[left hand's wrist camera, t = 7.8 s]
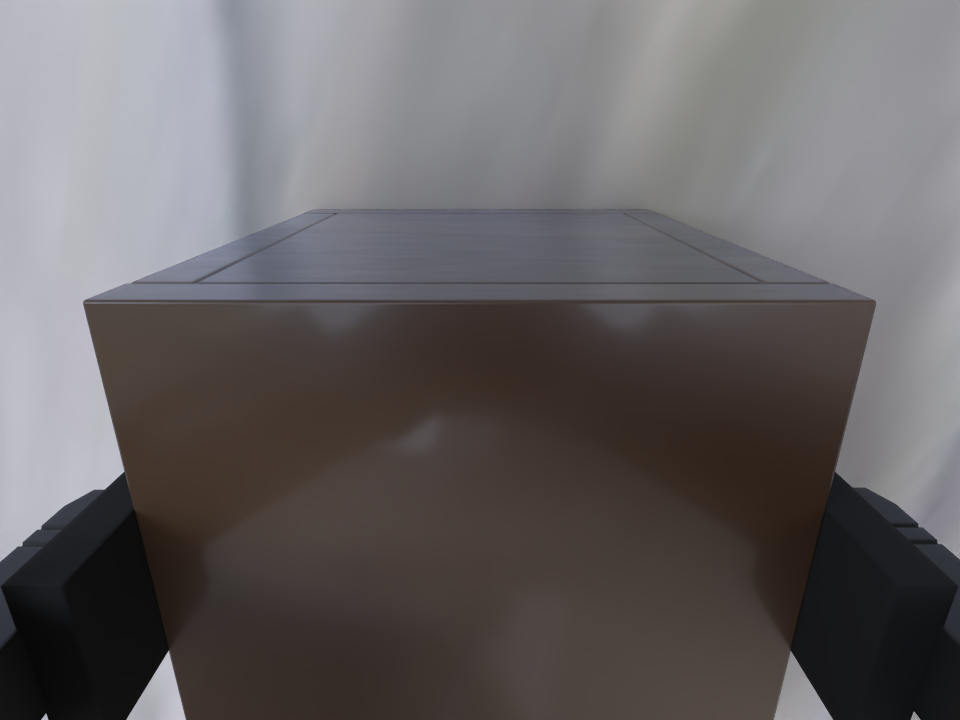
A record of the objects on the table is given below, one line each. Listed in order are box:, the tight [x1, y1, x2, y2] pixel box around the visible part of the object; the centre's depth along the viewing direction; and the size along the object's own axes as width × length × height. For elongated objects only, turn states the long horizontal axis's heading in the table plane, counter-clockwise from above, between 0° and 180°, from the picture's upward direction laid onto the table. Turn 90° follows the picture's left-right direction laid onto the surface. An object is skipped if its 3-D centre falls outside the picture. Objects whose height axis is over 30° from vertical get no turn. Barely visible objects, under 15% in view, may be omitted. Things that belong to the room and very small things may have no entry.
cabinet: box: [83, 210, 876, 720], centre depth 16 cm, size 20×10×11 cm, turn 0°
